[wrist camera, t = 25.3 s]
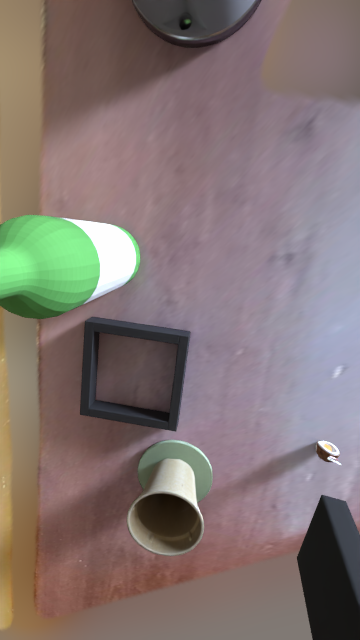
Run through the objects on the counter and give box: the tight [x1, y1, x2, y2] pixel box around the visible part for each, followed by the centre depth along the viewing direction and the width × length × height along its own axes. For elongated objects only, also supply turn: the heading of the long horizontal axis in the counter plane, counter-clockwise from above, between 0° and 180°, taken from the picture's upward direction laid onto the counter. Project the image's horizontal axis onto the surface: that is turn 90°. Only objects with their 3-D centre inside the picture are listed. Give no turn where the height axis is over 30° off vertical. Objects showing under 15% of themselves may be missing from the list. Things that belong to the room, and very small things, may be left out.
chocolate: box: [315, 441, 341, 466], centre depth 43 cm, size 3×2×4 cm
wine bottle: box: [0, 215, 140, 319], centre depth 28 cm, size 8×8×30 cm
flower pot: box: [127, 458, 204, 556], centre depth 44 cm, size 9×9×9 cm
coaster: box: [138, 440, 212, 503], centre depth 49 cm, size 11×11×1 cm
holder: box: [80, 317, 190, 431], centre depth 45 cm, size 13×13×2 cm
